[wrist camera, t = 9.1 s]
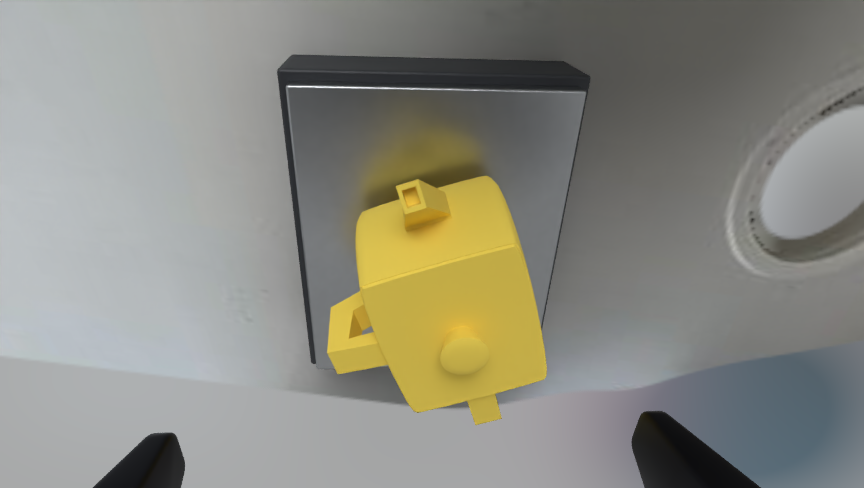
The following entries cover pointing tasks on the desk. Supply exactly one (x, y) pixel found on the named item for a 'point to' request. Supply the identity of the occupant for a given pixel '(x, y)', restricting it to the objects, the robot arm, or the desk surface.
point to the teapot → (442, 299)
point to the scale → (422, 154)
